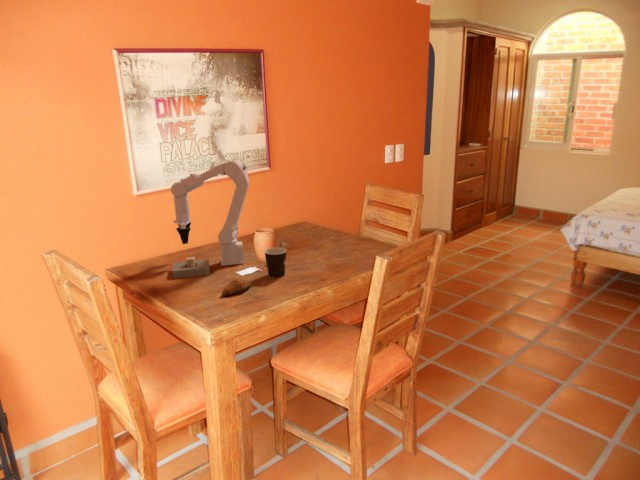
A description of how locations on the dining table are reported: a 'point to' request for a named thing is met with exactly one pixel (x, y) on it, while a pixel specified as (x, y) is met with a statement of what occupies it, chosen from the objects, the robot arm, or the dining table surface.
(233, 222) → the robot arm
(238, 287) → the croissant
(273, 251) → the coffee mug
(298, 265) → the dining table surface
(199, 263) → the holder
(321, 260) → the dining table surface
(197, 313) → the dining table surface
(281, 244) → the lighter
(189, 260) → the peg
